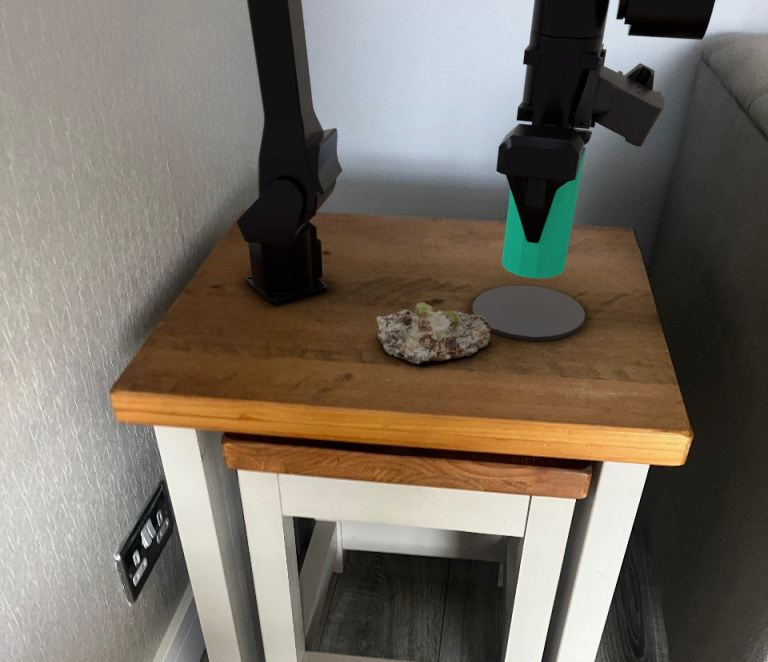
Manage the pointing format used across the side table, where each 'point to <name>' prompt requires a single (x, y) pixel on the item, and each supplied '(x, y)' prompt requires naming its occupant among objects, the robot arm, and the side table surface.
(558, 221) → the candle
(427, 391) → the side table surface
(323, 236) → the side table surface
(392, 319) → the mineral rock
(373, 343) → the side table surface
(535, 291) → the slate coaster
